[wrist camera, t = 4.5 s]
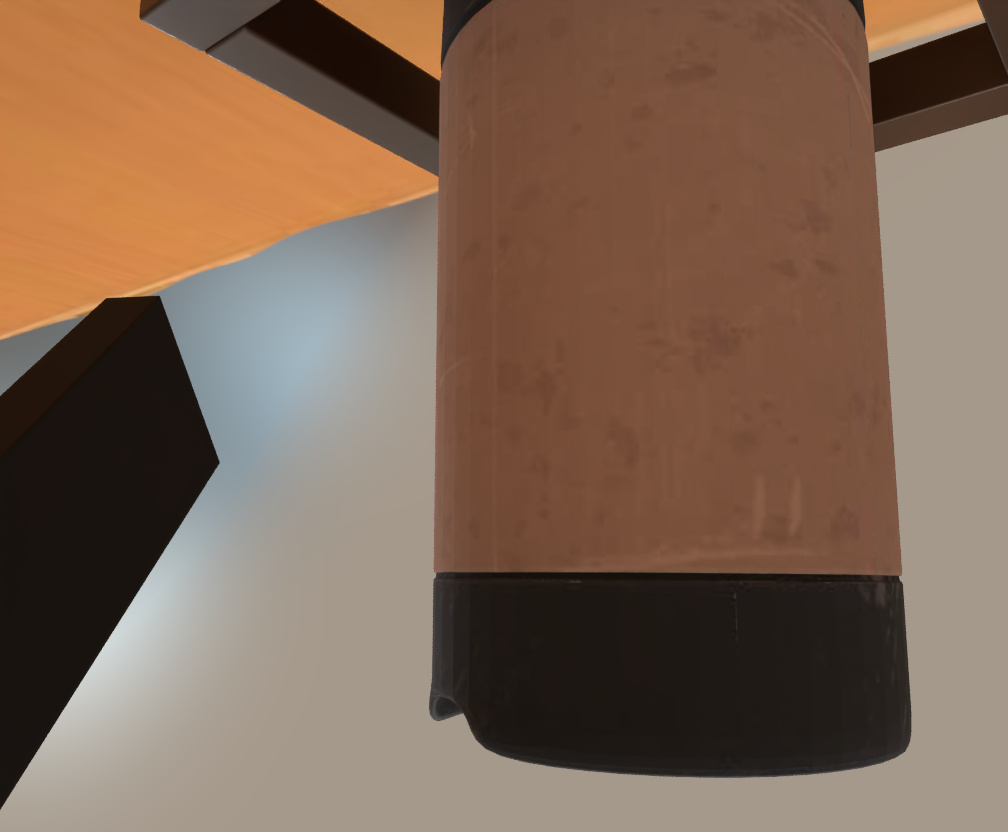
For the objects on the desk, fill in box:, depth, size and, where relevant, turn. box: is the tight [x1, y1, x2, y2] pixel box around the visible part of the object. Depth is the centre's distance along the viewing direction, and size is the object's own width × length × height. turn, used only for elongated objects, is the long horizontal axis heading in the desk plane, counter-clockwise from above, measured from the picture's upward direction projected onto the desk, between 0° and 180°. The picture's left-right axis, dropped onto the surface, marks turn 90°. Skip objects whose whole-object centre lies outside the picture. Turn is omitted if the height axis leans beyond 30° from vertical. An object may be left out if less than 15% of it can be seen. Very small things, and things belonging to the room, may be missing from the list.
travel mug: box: [429, 0, 911, 778], centre depth 16 cm, size 8×8×20 cm
